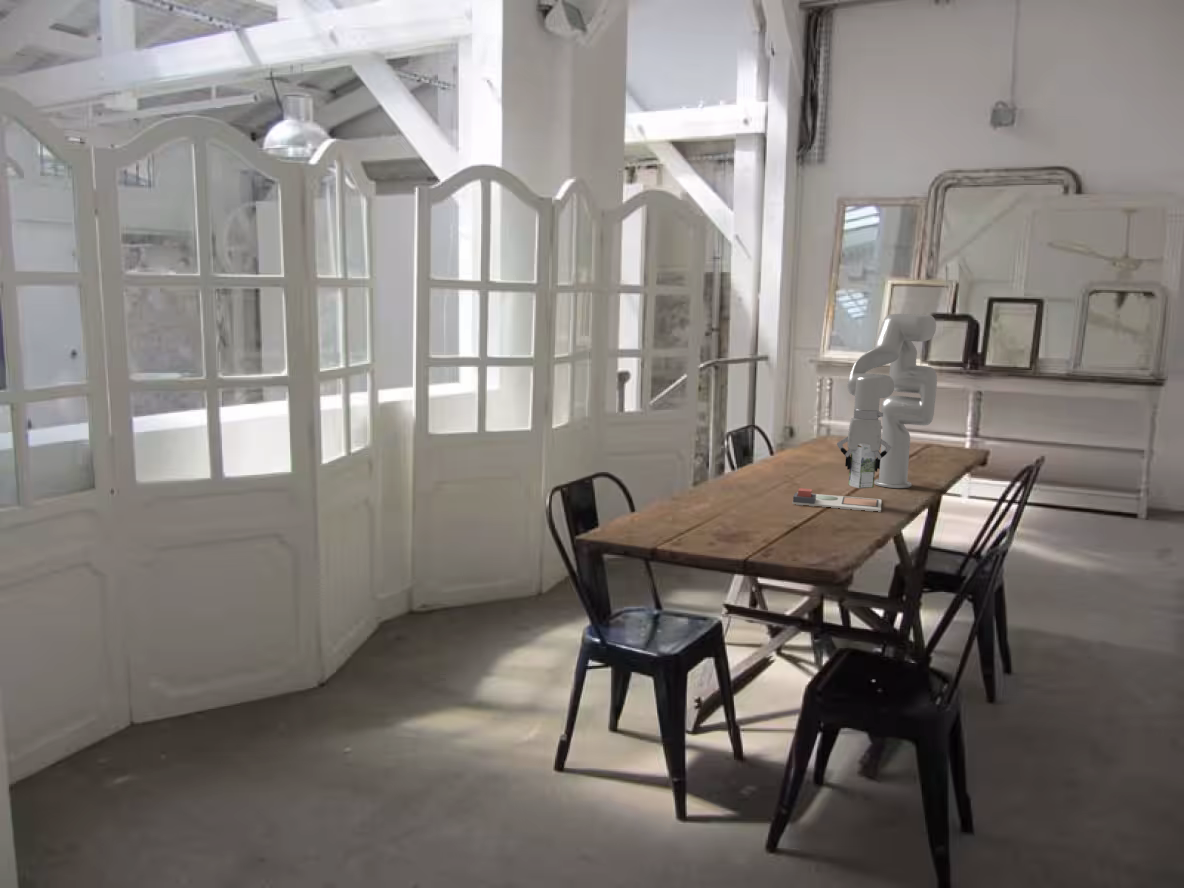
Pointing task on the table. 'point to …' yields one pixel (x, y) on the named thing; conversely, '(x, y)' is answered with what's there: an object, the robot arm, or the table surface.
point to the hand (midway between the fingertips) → (862, 469)
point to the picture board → (839, 502)
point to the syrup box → (862, 467)
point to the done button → (805, 492)
